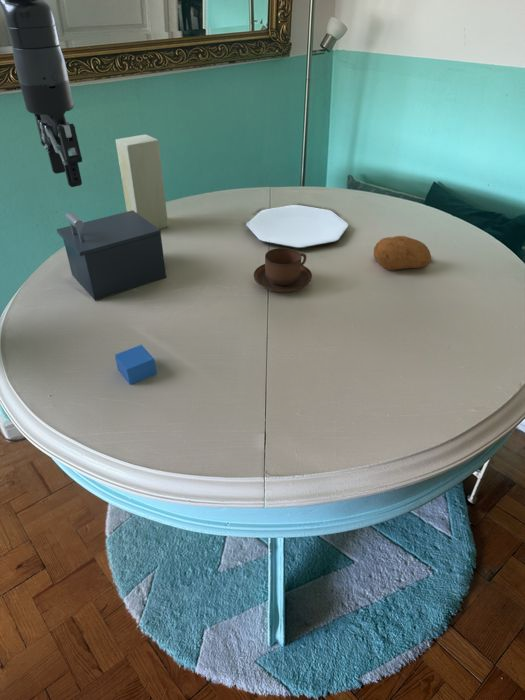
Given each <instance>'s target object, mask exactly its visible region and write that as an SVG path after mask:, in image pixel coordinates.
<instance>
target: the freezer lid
mask: <svg viewBox="0 0 525 700" xmlns="http://www.w3.org/2000/svg"><path fill="white" fill-rule="evenodd" d="M64 217H65V220H66V221H67V222H69V224H70V225H69V226H65V227H64V226H63V227H59V228H56V232H57V234H58V236H59V237H61V238H62V240H63V239H64V240H65V241H66V242H67V243H68V244H69V245H70V246H71V247H72V248H73V249H74V250H75V251H76V252H77V253H78V254H79V255H80V256H83V255H87V254H90V253H94V252H97V251H101V250H104V249H108V248H112V247H115V246H119V245H122V244H126V243H129V242H133V241H137V240H140V239H144V238H147V237H151V236H154V235H158V234H161V230H160V229H158V228H156V227H155V226H154V225H152V224H151V223H150V222H148V221H147V220H146V219H144V218H143V217H141V216H140V215H139V214H137V213H136V212H135V211H133V210H132V211H128V212H127V211H123V212H120V213H116V214H113V215H108V216H104V217H100V218H97V219H92V220H88V221H83V220H82V219H81V218H80V217H78V216H77V215H76V214H75V213H74V212H73V211H68V212H66V214H65V216H64ZM161 235H162V234H161ZM64 240H63V241H64Z"/></svg>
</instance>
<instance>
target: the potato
mask: <svg viewBox="0 0 525 700" xmlns="http://www.w3.org/2000/svg"><path fill="white" fill-rule="evenodd" d="M373 256H374V258H375V261H376V263H377V264H379V266H381V267H382V268H383V269H385V270H388V271H395V270H403V269H422V268H425V267H427V266H429V264H430V263H431V261H432V255H431V251H430V249H429V247H428V246H427V245H426V244H425V243H423V242H422V241H420V240H418V239H414V238H412V237H408V236H405V235H396V236H387V237H384V238H381V239H379V241H377V243H376V244H375V246H374V247H373Z"/></svg>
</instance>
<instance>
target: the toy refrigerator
mask: <svg viewBox="0 0 525 700" xmlns="http://www.w3.org/2000/svg"><path fill="white" fill-rule="evenodd" d="M115 146H116V153H117V159H118V164H119V165H118V166H119V171H120V176H121V184H122V191H123V195H124V196H123V197H124V202H125V209H126V212H128V211H132V210H133V211H135V212H136V213H137V214H139V215H140V216H141V217H143V218H144V219H146V220H147V221H148V222H150V223H151V224H152V225H154V226H155V227H156V228H158V229H159V230H160V229H161V230H162V229H165V228H168V227H169V221H168V213H167V212H168V211H167V203H166V195H165V187H164V176H163V168H162V167H163V165H162V157H161V149H160V142H159V139H157V138H155V137H153V136H150V135H148V134H139V135H134V136H133V135H132V136H127V137H121V138H116V139H115Z"/></svg>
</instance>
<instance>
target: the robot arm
mask: <svg viewBox="0 0 525 700" xmlns="http://www.w3.org/2000/svg"><path fill="white" fill-rule="evenodd" d="M0 7H1V9H2V12H3V15H4V21H5V25H6V29H7V33H8V36H9V41H10V44H11V47H12V54H13V62H14V66H15V70H16V74H17V78H18V82H19V87H20V90H21V94H22V97H23V101H24V105H25V109H26V111H27V112H28V113H30V114H33V115H34V117H35V121H36V126H37V130H38V134H39V139H40V144H41V145H42V146H43V147H44V149H45V152H47V155H48V159H49V162H50V167H51V170H52V172H53V173H54V174H62V173H65V176H66V180H67V184H68V186H69V187H71V188H75V187H80V186H82V184H83V181H82V176H81V172H80V167H79V163H83V156H82V153H81V149H80V144H79V141H78V135H77V131H76V127H75V125H74V123H70V122H69V121H67V118H66V116H65V115H66V112H69V111H72V110H73V109H74V107H75V102H74V98H73V93H72V89H71V83H70V79H69V74H68V69H67V64H66V61H65V57H64V54H63V52H62V48H61V45H60V40H59V34H58V30H57V25H56V20H55V16H54V13H53V9H52V7H51V6H50V5H49V3H48V2H47V1H45V0H0ZM69 153H71V155H70V154H69Z"/></svg>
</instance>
